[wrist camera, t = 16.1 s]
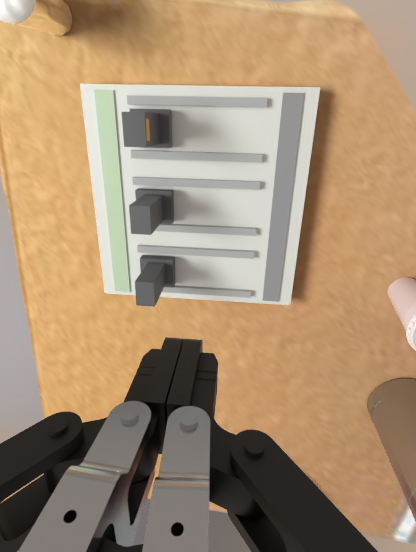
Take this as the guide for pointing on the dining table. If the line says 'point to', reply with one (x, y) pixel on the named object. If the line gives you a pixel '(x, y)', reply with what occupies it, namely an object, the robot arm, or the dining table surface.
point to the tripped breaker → (147, 128)
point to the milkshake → (38, 15)
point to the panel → (201, 190)
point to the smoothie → (405, 305)
